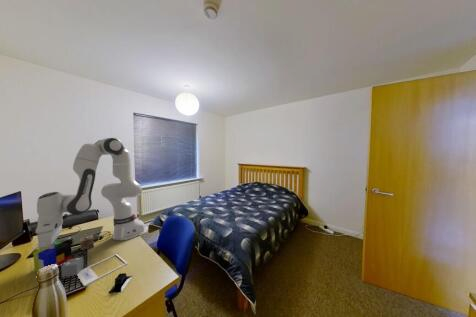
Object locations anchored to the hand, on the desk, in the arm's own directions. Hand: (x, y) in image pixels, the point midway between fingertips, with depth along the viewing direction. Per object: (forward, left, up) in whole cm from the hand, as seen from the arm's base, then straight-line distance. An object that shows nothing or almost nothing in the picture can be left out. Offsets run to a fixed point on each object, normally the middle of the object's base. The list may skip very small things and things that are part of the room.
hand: (52, 247), depth 90 cm
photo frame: (-22, +19, -11) cm, 31 cm away
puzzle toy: (0, 0, -10) cm, 10 cm away
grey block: (-10, +14, -10) cm, 20 cm away
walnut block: (-12, -12, -10) cm, 20 cm away
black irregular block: (-30, +37, -11) cm, 49 cm away
